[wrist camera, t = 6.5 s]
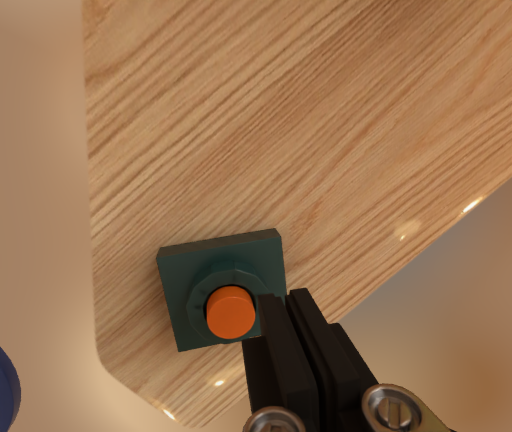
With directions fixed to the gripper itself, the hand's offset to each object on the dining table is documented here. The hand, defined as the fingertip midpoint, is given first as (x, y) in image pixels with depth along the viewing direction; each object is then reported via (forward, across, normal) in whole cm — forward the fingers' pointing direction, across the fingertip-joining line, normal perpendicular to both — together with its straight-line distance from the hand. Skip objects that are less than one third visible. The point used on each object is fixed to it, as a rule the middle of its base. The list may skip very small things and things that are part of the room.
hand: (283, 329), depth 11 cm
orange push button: (+13, +2, +7) cm, 15 cm away
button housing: (+17, +2, +7) cm, 18 cm away
